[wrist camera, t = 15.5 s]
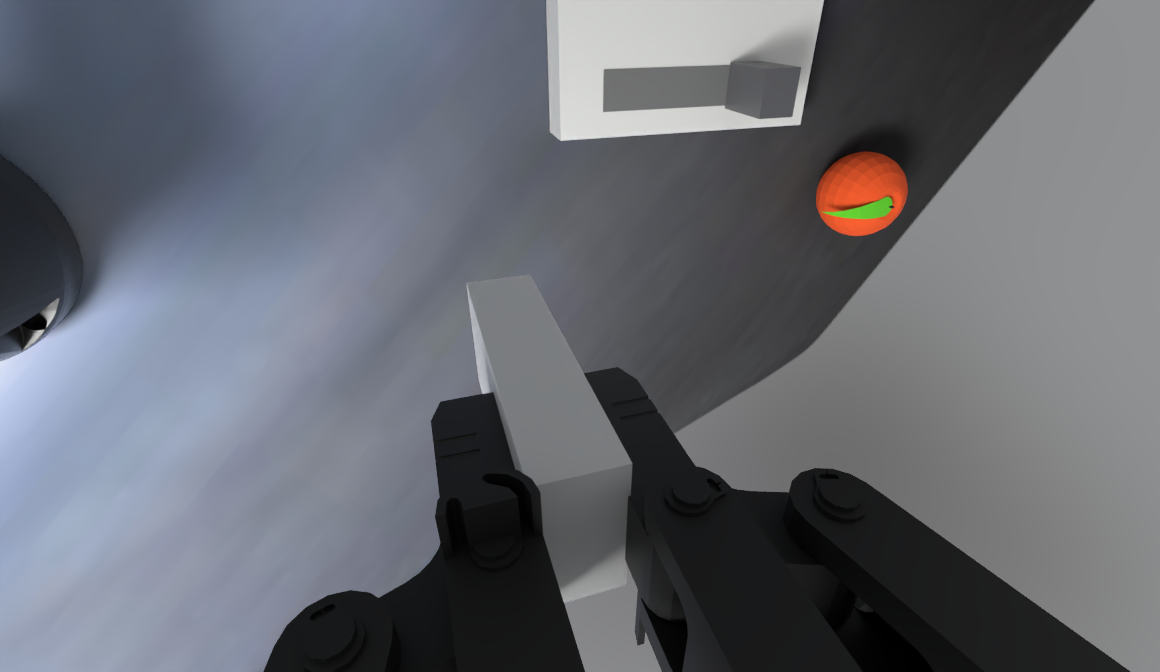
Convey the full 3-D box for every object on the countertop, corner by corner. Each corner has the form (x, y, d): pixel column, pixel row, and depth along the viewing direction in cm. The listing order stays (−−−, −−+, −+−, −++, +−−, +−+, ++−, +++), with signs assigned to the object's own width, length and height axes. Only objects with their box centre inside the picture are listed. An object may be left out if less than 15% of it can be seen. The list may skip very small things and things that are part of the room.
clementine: (787, 232, 51) (839, 262, 45) (789, 157, 47) (846, 179, 41) (862, 209, 52) (922, 235, 46) (870, 134, 48) (937, 152, 42)
